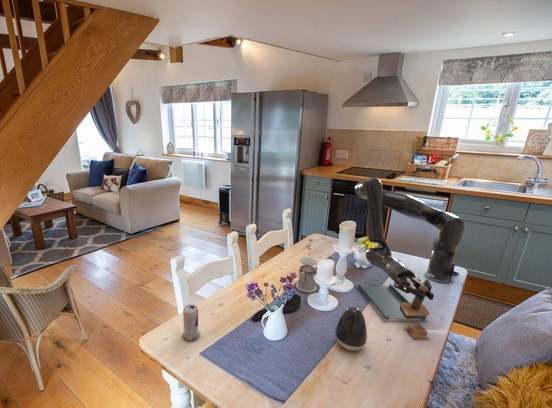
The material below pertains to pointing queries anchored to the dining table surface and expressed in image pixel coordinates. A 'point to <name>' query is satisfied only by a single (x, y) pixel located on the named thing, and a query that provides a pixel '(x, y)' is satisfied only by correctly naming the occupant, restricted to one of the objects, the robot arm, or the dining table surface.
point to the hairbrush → (286, 309)
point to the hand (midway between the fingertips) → (427, 297)
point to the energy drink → (190, 322)
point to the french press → (307, 274)
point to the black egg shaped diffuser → (351, 329)
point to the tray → (386, 300)
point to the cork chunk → (417, 331)
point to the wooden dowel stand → (415, 306)
